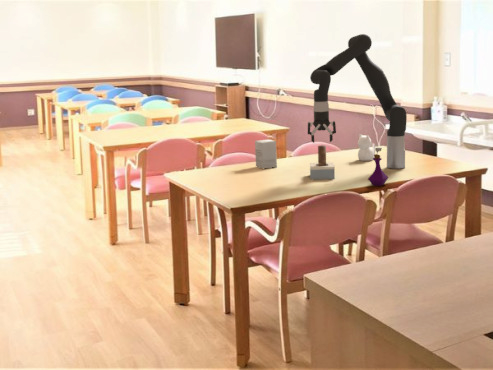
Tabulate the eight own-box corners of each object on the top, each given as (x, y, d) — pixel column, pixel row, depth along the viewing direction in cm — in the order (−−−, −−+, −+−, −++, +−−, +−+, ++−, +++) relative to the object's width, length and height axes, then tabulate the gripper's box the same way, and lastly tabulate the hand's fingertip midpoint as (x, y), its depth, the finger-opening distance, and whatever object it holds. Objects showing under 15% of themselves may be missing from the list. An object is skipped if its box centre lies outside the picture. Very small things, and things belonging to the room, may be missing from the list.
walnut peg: (326, 176, 368) (325, 145, 365) (326, 177, 365) (326, 146, 361) (318, 176, 369) (317, 145, 365) (318, 177, 365) (318, 146, 362)
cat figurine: (353, 160, 409) (353, 134, 406) (368, 157, 417) (368, 132, 413) (365, 162, 402) (364, 136, 399) (380, 159, 410) (380, 133, 406)
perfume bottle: (382, 187, 338) (382, 149, 334) (367, 185, 342) (367, 148, 338) (388, 184, 344) (388, 147, 341) (373, 182, 348) (373, 146, 345)
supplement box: (269, 165, 404) (269, 138, 401) (277, 167, 396) (276, 140, 393) (255, 167, 400) (254, 140, 397) (262, 169, 392) (261, 142, 389)
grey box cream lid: (333, 174, 372) (333, 162, 371) (334, 178, 360) (334, 166, 359) (310, 174, 373) (310, 163, 372) (310, 179, 361) (310, 167, 360)
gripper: (335, 108, 363) (335, 140, 366) (306, 110, 364) (307, 141, 367) (335, 110, 355) (336, 142, 359) (307, 111, 356) (308, 143, 360)
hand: (321, 142), depth 363 cm, fingers open, 8 cm apart
